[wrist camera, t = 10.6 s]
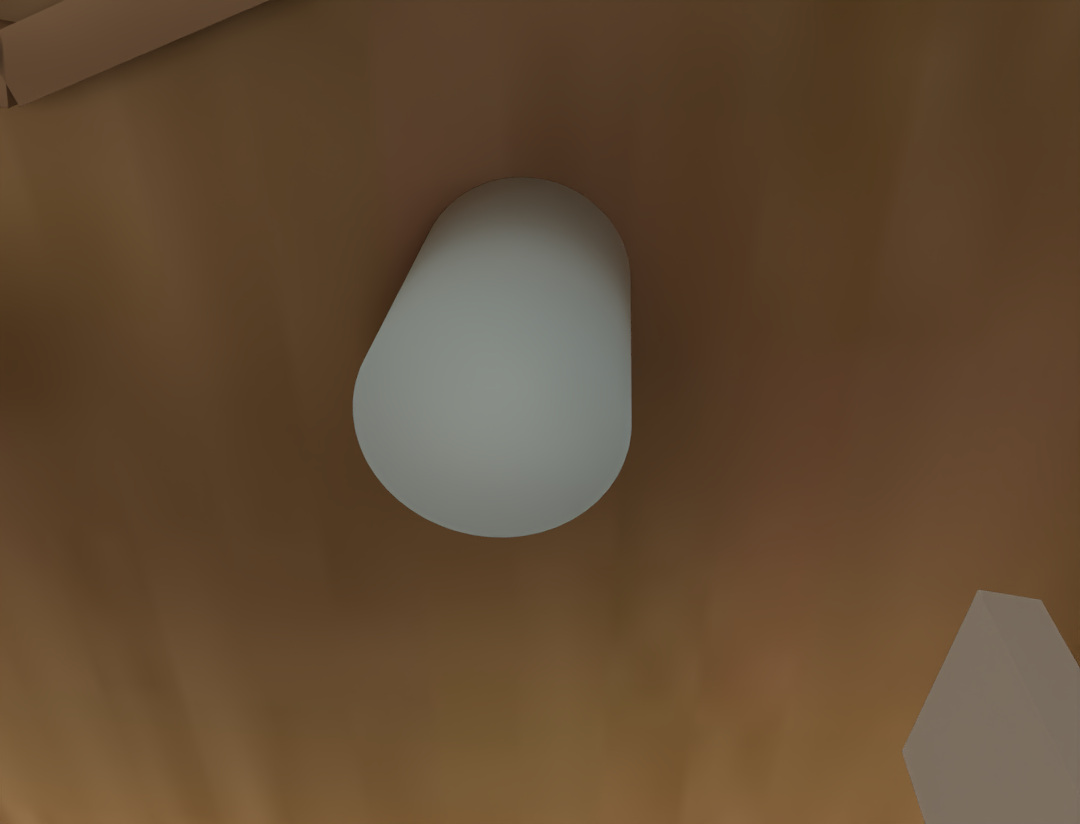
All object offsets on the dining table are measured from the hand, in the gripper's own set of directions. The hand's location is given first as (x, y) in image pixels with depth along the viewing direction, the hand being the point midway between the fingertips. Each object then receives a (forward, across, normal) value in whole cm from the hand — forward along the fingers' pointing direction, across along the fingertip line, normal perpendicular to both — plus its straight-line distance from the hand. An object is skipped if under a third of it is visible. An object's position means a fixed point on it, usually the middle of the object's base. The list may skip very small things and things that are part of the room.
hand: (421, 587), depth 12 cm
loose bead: (+10, 0, 0) cm, 10 cm away
